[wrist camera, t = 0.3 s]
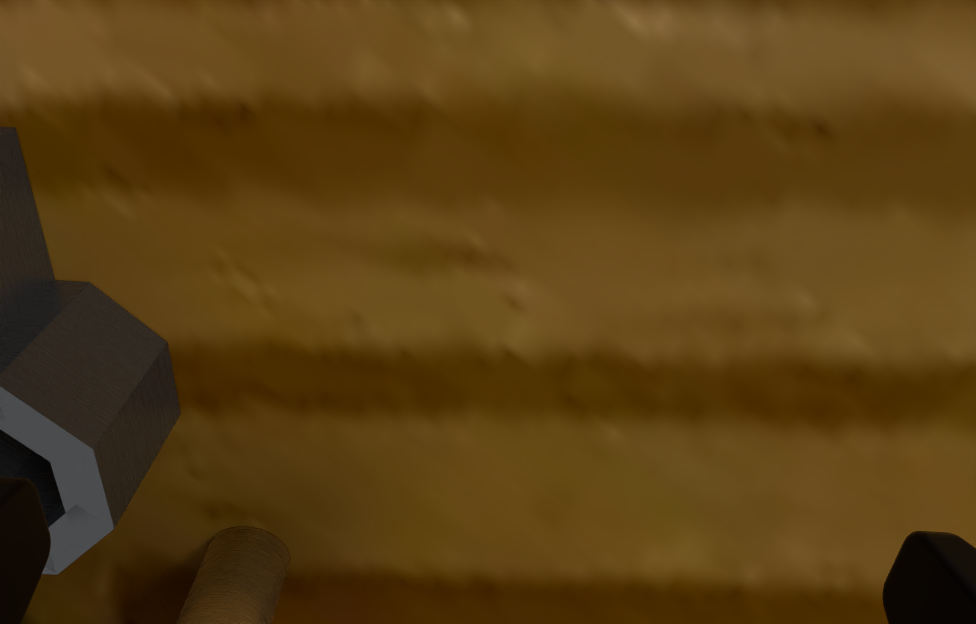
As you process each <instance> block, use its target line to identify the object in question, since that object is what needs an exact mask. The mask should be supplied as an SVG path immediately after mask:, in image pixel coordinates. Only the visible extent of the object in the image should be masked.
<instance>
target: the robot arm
mask: <svg viewBox="0 0 976 624" xmlns="http://www.w3.org/2000/svg"><path fill="white" fill-rule="evenodd" d="M50 548H51V537H50V532H49V528H48V525H47V522H46V518H45V515H44V512H43V509H42V505H41V502H40V499H39V495H38V492H37V489H36V487H35V485H34V484H33V483H32V482H31V481H30V480H29V479H26V478H20V477H3V476H0V624H21V622H22V620H23V617H24V615H25V612H26V610H27V608H28V605H29V603H30V601H31V598H32V596H33V594H34V591H35V589H36V586H37V584H38V582H39V579H40V577H41V575H42V572H43V570H44V568H45V565H46V563H47V560H48V557H49V553H50ZM883 605H884V609H885V613H886V616H887V620H888V623H889V624H976V548H974V547H973V546H972V545H970V544H969V543H967V542H966V541H965V540H963V539H962V538H960V537H959V536H957V535H954V534H951V533H945V532H929V531H916V532H912V533H911V534H910V535H908V536H907V537H906V539H905V540H904V542H903V545H902V547H901V549H900V551H899V553H898V555H897V557H896V559H895V562H894V564H893V566H892V568H891V570H890V572H889V574H888V576H887V579H886V581H885V583H884V588H883Z"/></svg>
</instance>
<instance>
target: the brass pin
mask: <svg viewBox="0 0 976 624" xmlns="http://www.w3.org/2000/svg"><path fill="white" fill-rule="evenodd" d="M289 563H290V556H289V552H288V550H287V548H286V546H285V545H284V544H283V543H282V542H281V541H280V540H279V539H278V538H277V537H275V536H274V535H272V534H270V533H268V532H266V531H263V530H261V529H257V528H252V527H233V528H229V529H226V530H223V531H221V532H220V533H218V534H217V535H216V536H215V537H214V538H213V539H212V541H211V543H210V545H209V547H208V550H207V552H206V554H205V557H204V559H203V561H202V564H201V566H200V568H199V571H198V573H197V575H196V578H195V580H194V582H193V585H192V587H191V589H190V592H189V594H188V596H187V599H186V601H185V603H184V606H183V608H182V610H181V613H180V615H179V617H178V620H177V622H176V624H271V623H272V620H273V617H274V613H275V610H276V607H277V603H278V600H279V597H280V593H281V590H282V587H283V583H284V580H285V577H286V574H287V570H288V567H289Z"/></svg>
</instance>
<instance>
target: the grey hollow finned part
mask: <svg viewBox="0 0 976 624" xmlns="http://www.w3.org/2000/svg"><path fill="white" fill-rule="evenodd" d="M180 414H181V413H180V408H179V402H178V397H177V392H176V386H175V381H174V375H173V370H172V365H171V359H170V354H169V348H168V343H167V342H166V341H165V340H164V339H162V338H161V337H160V336H158V335H157V334H156V333H155V332H153V331H152V330H151V329H149V328H148V327H147V326H146V325H144V324H143V323H142V322H140V321H139V320H138V319H136V318H135V317H134V316H133V315H131V314H130V313H129V312H127V311H126V310H125V309H123V308H122V307H121V306H120V305H118V304H117V303H116V302H114V301H113V300H112V299H111V298H109V297H108V296H107V295H105V294H104V293H103V292H101V291H100V290H99V289H98V288H96V287H95V286H94V285H92V284H91V283H89V282H77V281H60V280H55V278H54V274H53V270H52V266H51V263H50V259H49V255H48V251H47V247H46V243H45V240H44V236H43V232H42V228H41V224H40V221H39V217H38V213H37V209H36V205H35V201H34V198H33V194H32V190H31V186H30V182H29V179H28V175H27V171H26V167H25V163H24V159H23V156H22V152H21V148H20V144H19V140H18V137H17V133H16V129H15V128H11V127H0V476H3V477H20V478H26V479H29V480H30V481H31V482H32V483H33V484H34V485H35V487H36V489H37V492H38V495H39V499H40V502H41V505H42V509H43V512H44V515H45V518H46V522H47V525H48V528H49V532H50V537H51V548H50V553H49V557H48V560H47V563H46V565H45V568H44V570H43V572H42V574H54V575H58V574H59V573H60V572H61V571H62V570H64V569H65V568H66V567H67V566H69V565H70V564H71V563H72V562H74V561H75V560H76V559H77V558H79V557H80V556H81V555H82V554H83V553H85V552H86V551H87V550H88V549H90V548H91V547H92V546H93V545H95V544H96V543H97V542H98V541H100V540H101V539H102V538H103V537H104V536H106V535H107V534H108V533H109V532H111V531H112V530H113V529H114V528H115V526H116V525H117V523H118V521H119V519H120V518H121V516H122V514H123V512H124V511H125V509H126V507H127V506H128V504H129V502H130V500H131V499H132V497H133V495H134V494H135V492H136V490H137V488H138V487H139V485H140V483H141V481H142V480H143V478H144V476H145V475H146V473H147V471H148V469H149V468H150V466H151V464H152V462H153V461H154V459H155V457H156V456H157V454H158V452H159V450H160V449H161V447H162V445H163V444H164V442H165V440H166V438H167V437H168V435H169V433H170V431H171V430H172V428H173V426H174V425H175V423H176V421H177V419H178V418H179V416H180Z"/></svg>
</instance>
